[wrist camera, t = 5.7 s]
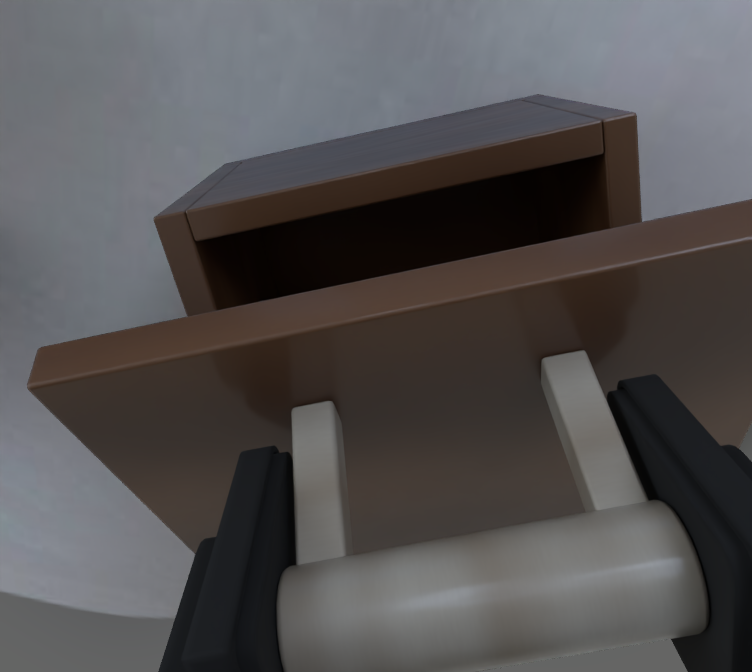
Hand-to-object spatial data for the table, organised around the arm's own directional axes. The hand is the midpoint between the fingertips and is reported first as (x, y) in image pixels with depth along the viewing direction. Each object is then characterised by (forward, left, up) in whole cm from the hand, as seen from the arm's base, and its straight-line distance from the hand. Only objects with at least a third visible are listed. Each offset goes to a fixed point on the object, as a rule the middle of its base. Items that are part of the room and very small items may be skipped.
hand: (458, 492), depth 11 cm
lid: (+3, 0, -4) cm, 4 cm away
